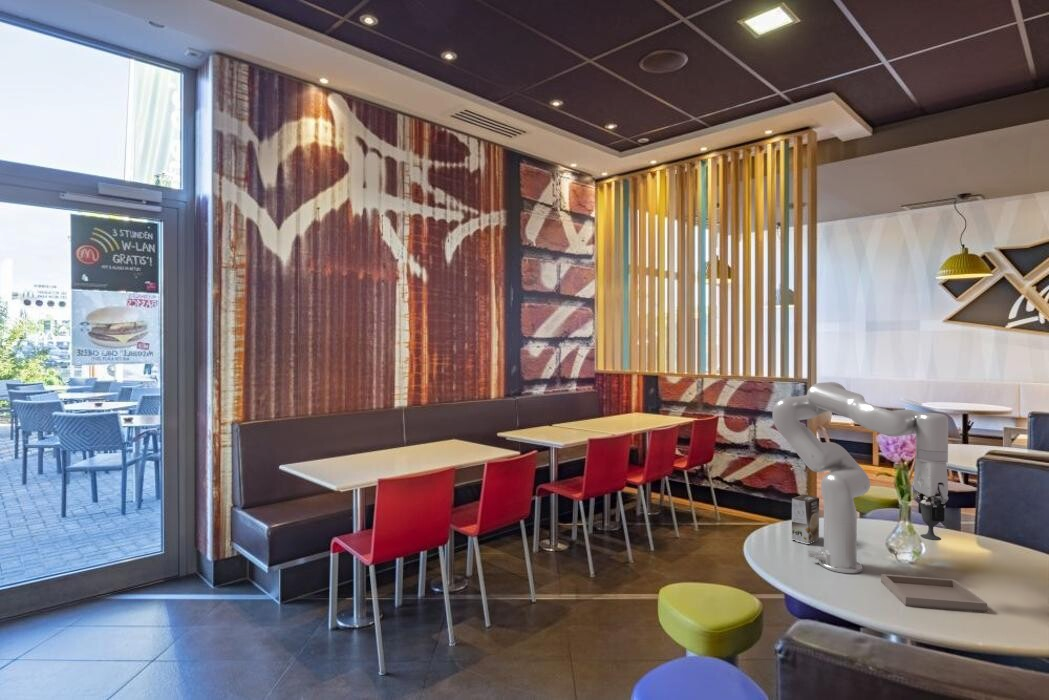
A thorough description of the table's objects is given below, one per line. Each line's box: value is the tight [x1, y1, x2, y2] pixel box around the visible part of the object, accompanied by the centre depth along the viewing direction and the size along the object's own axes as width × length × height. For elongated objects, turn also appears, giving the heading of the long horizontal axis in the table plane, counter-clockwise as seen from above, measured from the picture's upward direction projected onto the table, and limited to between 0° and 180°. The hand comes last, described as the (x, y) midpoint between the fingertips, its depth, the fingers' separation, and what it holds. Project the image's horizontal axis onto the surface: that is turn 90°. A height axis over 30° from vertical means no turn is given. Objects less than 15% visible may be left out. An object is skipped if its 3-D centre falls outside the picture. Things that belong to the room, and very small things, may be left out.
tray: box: [880, 573, 988, 613], centre depth 162 cm, size 20×16×2 cm
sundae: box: [916, 494, 942, 541], centre depth 162 cm, size 7×7×15 cm
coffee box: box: [791, 494, 820, 544], centre depth 208 cm, size 9×6×16 cm
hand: (931, 516), depth 162 cm, fingers closed on sundae, 6 cm apart
